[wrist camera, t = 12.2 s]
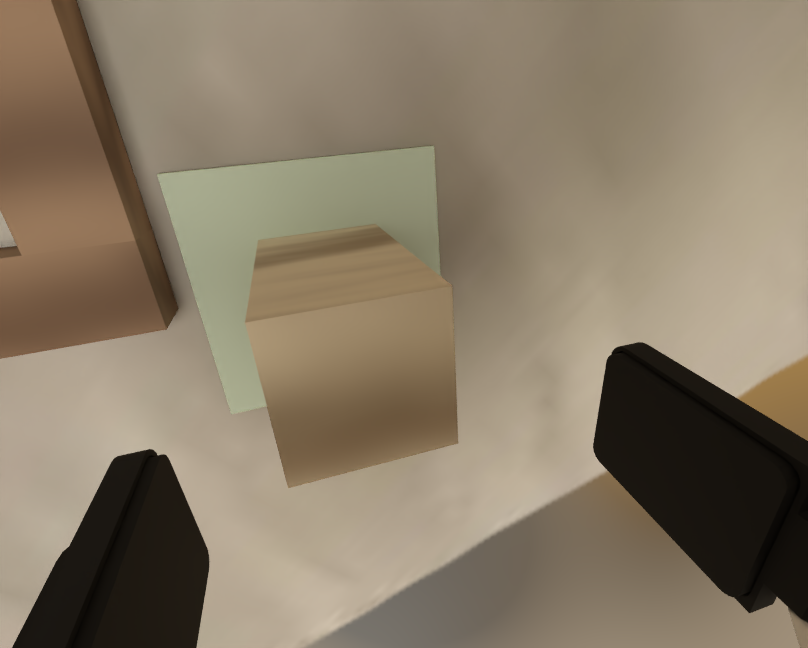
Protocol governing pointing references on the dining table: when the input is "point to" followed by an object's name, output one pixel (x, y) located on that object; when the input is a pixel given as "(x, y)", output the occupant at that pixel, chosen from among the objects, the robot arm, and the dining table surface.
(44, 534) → the dining table surface
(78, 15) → the cradle board
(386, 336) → the beech block
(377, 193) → the pad
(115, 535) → the robot arm
